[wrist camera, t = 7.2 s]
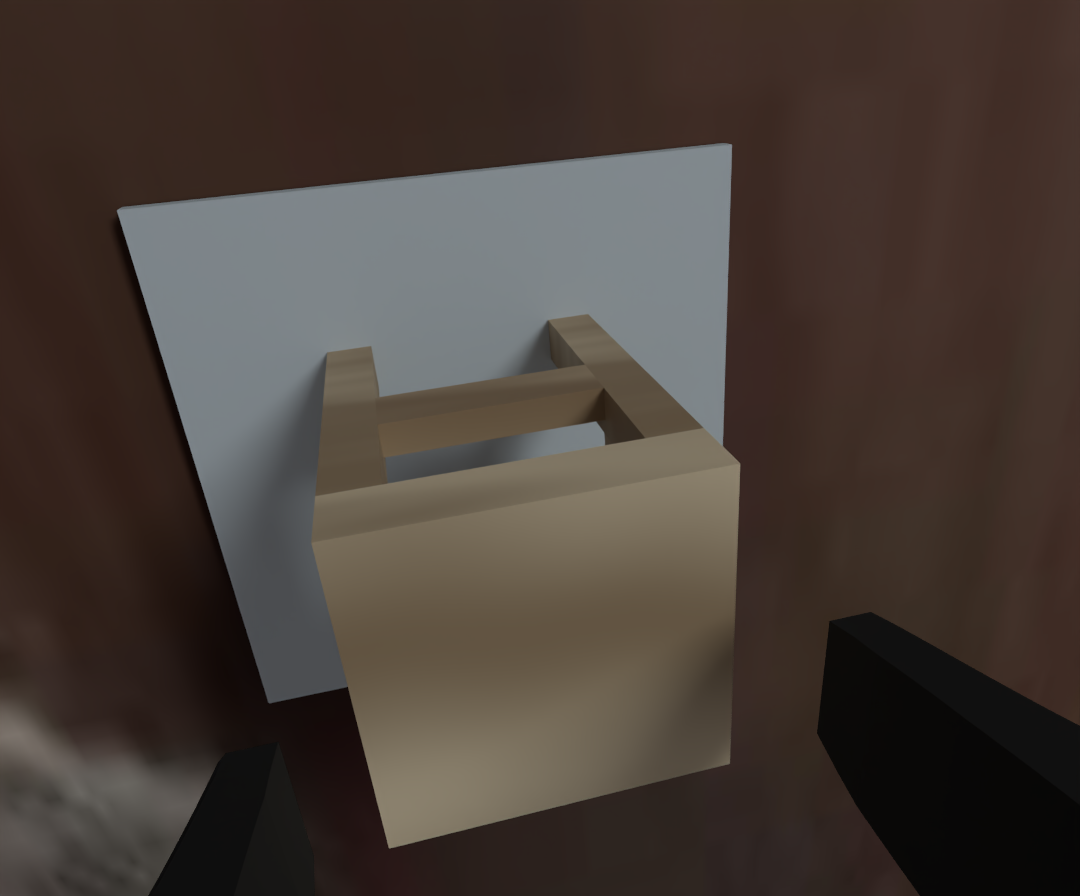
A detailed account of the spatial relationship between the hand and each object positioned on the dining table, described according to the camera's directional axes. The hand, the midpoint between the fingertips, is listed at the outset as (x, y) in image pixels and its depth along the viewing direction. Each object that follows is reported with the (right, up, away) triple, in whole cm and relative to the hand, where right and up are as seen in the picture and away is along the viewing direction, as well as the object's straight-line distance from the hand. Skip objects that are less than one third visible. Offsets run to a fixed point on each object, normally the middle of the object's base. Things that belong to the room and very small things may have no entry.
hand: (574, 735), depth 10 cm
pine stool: (-2, +4, +8) cm, 9 cm away
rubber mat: (-2, +4, +8) cm, 9 cm away
